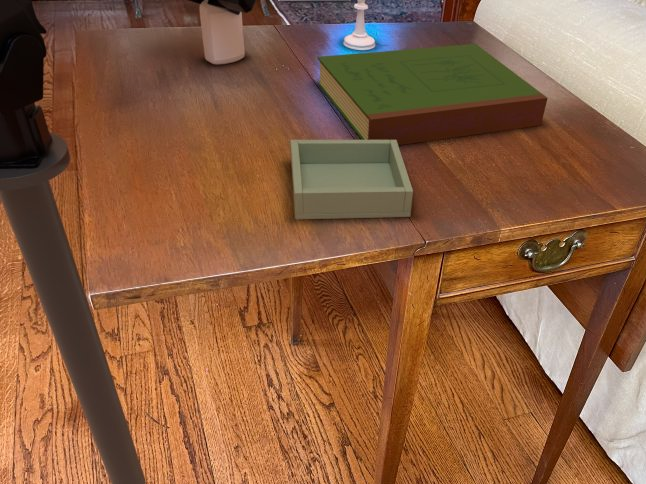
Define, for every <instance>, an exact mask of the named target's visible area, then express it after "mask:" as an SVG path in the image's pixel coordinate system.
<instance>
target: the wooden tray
mask: <svg viewBox="0 0 646 484" xmlns="http://www.w3.org/2000/svg"><path fill="white" fill-rule="evenodd" d="M290 165H291V166H290V167H291V180H292V182H291V183H292V193H293V196H292V197H293V209H294V210H293V211H294V220H296V221H297V220H332V219H334V220H335V219H336V220H337V219H339V220H340V219H377V218H378V219H379V218H381V219H382V218H411V216H412V215H411V214H412V206H413V204H412V203H413V197H414V190H413V186H412V184H411V181H410V180H411V179H410V176H409V174H408V171H407V168H406V165H405V162H404V158H403V156H402V153H401V149H400V145H398V143H397V140H361V139H290Z"/></svg>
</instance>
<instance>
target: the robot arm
mask: <svg viewBox="0 0 646 484" xmlns="http://www.w3.org/2000/svg"><path fill="white" fill-rule="evenodd" d="M187 1H188V2H191V3H195V4H198V5H200V4H201V3H202V2H203V1H204V0H187ZM256 1H257V0H208V2H207V4H208V5H211V6H214V7H217V8H219V9H222V10H225V11H227V12H230V13H233V14H236V15H239V14H240V12H242V13H244V14H248V13H249V12H251V11H253V8H254V6H255V4H256ZM42 34H43V35H46V34H47V29H46V27H44V26H43V25H42V24H41V22H40V20H39V19H38V17H37V14H36V12H35V8H34V6H33V2H32V0H0V169H34V168H37V167H39V166H40V163H41V161H42V159H43V157H44V155H45V154H46V153H47V151H48V149H49V147H50V145H51V143H52V136H51V135H50V133H49V132H50V130H49V127H48V124H47V120H46V117H45V113H44V110H43V107H42V106H41V105H39V104H36V103H37V102H39V101H41V100H44V76H45V75H44V74H45V73H44V71H45V70H44V69H45V68H44V65H45V58H46V57H47V46H46V44H45V40H44V37H43V35H42Z"/></svg>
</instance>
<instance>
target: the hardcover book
mask: <svg viewBox="0 0 646 484" xmlns="http://www.w3.org/2000/svg"><path fill="white" fill-rule="evenodd" d="M317 60H318V61H319V82H317V85H318V87H319V88H320V89H321V91H322V92H323V93H324V94H325V96H326V97H327V98H328V99H329V101H330V102H331V103H332V104H333V106H334V107H335V108H336V110H337V111H338V112H339V113H340V115H341V116H342V117H343V118H344V119H345V121H346V122H347V124H348V125H349V126H350V127H351V128H352V130H353V131H354V133H356V135H357V136H358V137H359V138H360V140H397V143H398V146H402V145H411V144H417V143H424V142H432V141H439V140H446V139H454V138H459V137H467V136H468V137H469V136H475V135H482V134H487V133H488V134H490V133H496V132H497V133H498V132H504V131H511V130H517V129H523V128H525V129H526V128H531V127H539V126H542V122H543V119H544V115H545V111H546V107H547V103H548V99H549V98H548V96H546V95H545V94H544V93H542V92H541V91H540V90H538V89H536V88H535V87H534V86H533V85H532V84H530V83H529V82H528V81H526V80H525V79H524V78H522V76H519V75H518V74H517V73H515V72H514V71H513V70H512V69H510V68H509V67H508V66H506V65H505V64H503V63H502V62H501V61H499V60H498V59H497V58H495V57H494V56H493V55H492V54H490V53H489V52H487V51H486V50H485V49H484V48H482V47H481V46H480V45H478V44H477V43H469V44H458V45H456V44H455V45H446V46H433V47H432V46H431V47H421V48H408V49H395V50H383V51H372V52H360V53H359V52H357V53H347V54H334V55H322V56H317Z"/></svg>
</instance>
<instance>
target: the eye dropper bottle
mask: <svg viewBox="0 0 646 484" xmlns="http://www.w3.org/2000/svg"><path fill="white" fill-rule="evenodd" d="M207 2H208V0H204V1H203V2H202V3H201V4H199V9H198V10H199V19H200V27H201V34H202V35H201V36H202V45H203V53H204V58H205V60H206V61H207V62H209V63H210V64H212V65H226V64H232V63H235V62H238V61H240V60H242V59H243V58H245V55H246V50H245V39H244V38H245V37H244V36H245V35H244V25H243V14H242V13H243V12H240V14H239V15H236V14H233V13H230V12H227V11H225V10H222V9H219V8H217V7H214V6H211V5H208V4H207Z"/></svg>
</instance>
